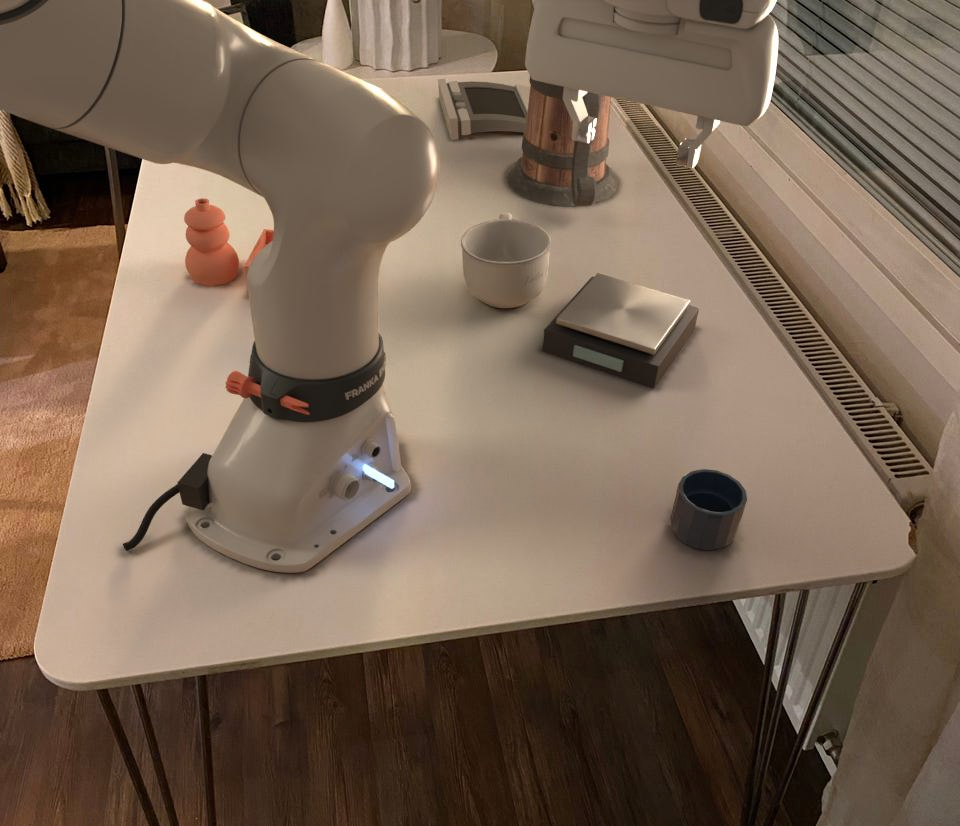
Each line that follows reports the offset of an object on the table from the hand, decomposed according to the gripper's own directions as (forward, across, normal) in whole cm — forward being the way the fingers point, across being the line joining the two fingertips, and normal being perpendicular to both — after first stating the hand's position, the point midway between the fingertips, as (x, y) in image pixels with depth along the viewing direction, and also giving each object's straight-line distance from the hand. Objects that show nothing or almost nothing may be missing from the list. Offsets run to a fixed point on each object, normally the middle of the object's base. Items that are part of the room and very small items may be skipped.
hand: (633, 151), depth 82 cm
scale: (+30, -4, +17) cm, 35 cm away
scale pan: (+27, -4, +17) cm, 32 cm away
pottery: (+30, -49, +7) cm, 58 cm away
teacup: (+30, -20, +20) cm, 42 cm away
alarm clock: (+30, -47, +69) cm, 88 cm away
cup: (+30, +15, -9) cm, 35 cm away
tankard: (+30, -25, +50) cm, 64 cm away
